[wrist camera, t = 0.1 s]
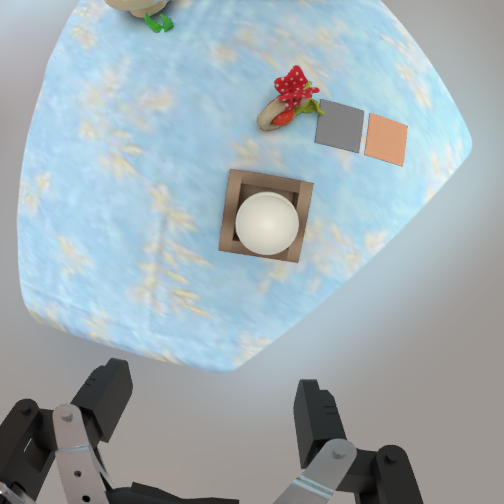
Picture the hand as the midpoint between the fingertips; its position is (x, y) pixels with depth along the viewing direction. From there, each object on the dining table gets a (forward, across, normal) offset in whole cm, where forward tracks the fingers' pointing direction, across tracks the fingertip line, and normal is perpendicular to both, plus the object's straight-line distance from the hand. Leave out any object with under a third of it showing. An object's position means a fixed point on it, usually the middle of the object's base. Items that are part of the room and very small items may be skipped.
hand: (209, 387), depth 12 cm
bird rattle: (+29, -5, -18) cm, 35 cm away
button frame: (+29, -3, -4) cm, 29 cm away
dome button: (+23, -3, -4) cm, 24 cm away
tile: (+29, -20, -17) cm, 39 cm away
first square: (+29, -13, -18) cm, 36 cm away
